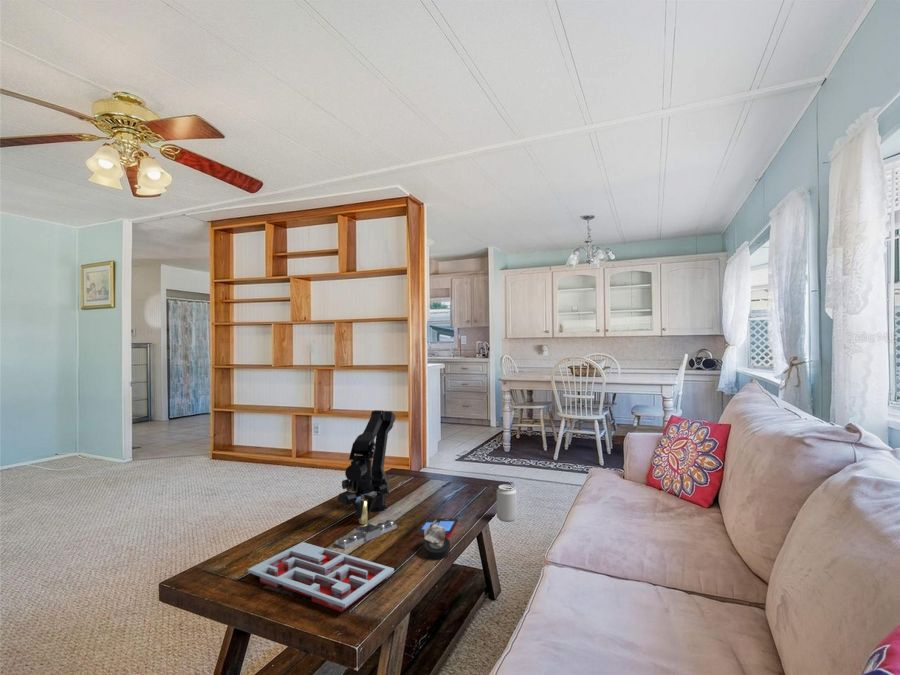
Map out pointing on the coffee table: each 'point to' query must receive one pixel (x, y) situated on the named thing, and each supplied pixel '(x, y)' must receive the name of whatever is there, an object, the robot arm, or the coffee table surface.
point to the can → (506, 503)
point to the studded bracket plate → (365, 533)
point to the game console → (446, 523)
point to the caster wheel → (435, 542)
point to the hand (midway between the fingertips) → (363, 516)
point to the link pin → (364, 512)
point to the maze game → (322, 574)
